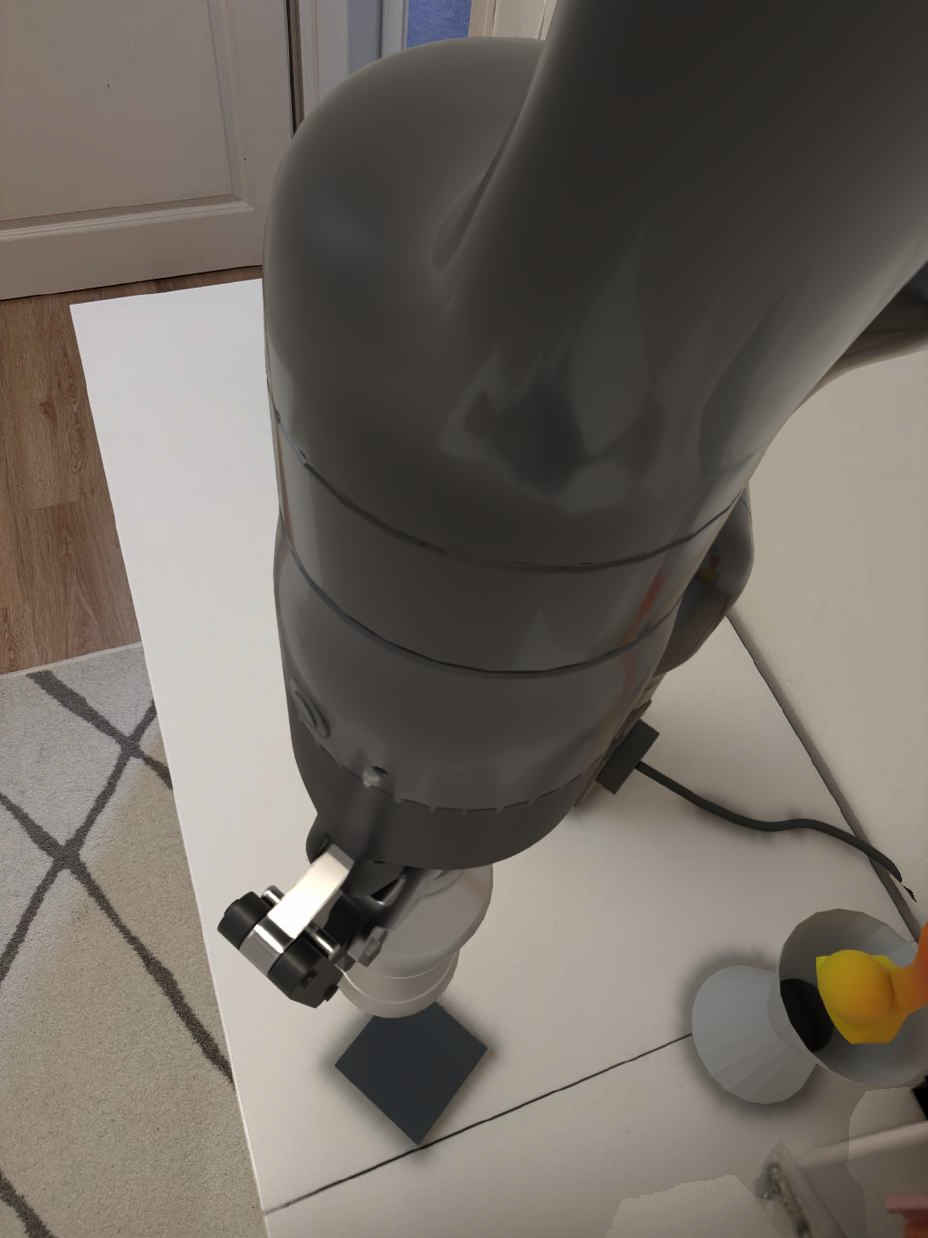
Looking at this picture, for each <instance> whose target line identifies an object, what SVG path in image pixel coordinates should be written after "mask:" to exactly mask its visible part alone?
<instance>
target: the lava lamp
mask: <svg viewBox="0 0 928 1238" xmlns="http://www.w3.org/2000/svg"><path fill="white" fill-rule="evenodd" d="M691 1036H692V1039H693V1042H694V1046H695V1049H696V1052H697V1055H698V1057H699V1059H700V1061H701V1062H702V1064H703V1066H704V1067H705V1069H706V1070H707V1073H709V1075H710V1077H712V1078H713V1080H715V1082H716V1083H718V1084H719V1085H720V1086H721V1087H722V1088H723V1089H724V1090H725V1091H726V1092H727V1093H730V1094H732V1095H734V1096H736V1097H738V1098H739V1099H742V1100H743V1101H745V1102H748V1103H749V1102H750V1103H756V1104H762V1105H770V1104H774V1103H780V1102H784V1101H787V1100H788V1099H789V1098H791V1097H792V1096H793V1095H795V1094H796V1093H798V1092H799V1091H800V1090H801V1089H802V1088H803V1086H804V1085H805V1083H806V1082H807V1080H808V1078H809V1077H810V1075H811V1074H812V1072H813V1070H814V1069H815V1067H816V1065H819V1066H820V1067H821V1068H823V1069H825V1070H827V1071H829V1072H831V1073H833V1074H835V1075H837V1076H838V1077H840V1078H843V1079H845V1080H846V1081H849V1082H850V1083H853V1084H857V1085H864V1086H870V1087H877V1088H887V1087H892V1086H896V1085H901V1084H905V1083H908V1082H910V1081H911V1080H913V1079H914V1078H915V1077H917V1076H918V1075H919V1074H921V1073H922V1072H923V1071H924V1070H925V1069H927V1068H928V920H927V921H926V923H925V924H924V925H923V927H922V930H921V931H920V935H919V939H918V945H917V951H916V949H915V948H914V947H913V945H912V944H911V943H910V941H908V940H907V939H906V938H905V937H903V936H902V935H901V934H900V933H899V932H898V931H897V930H895V929H894V928H893V927H892V926H891V925H889V924H888V923H887V922H885V921H883V920H881V919H878V918H876V917H874V916H872V915H870V914H868V913H865V912H864V911H857V910H851V909H845V908H840V907H838V908H833V909H829V910H828V909H827V910H821V911H817V912H815V913H813V914H812V915H810V916H809V917H807V918H805V919H804V920H802V921H800V922H799V923H798V924H796V926H795V927H794V929H793V930H792V931H791V932H790V934H789V935H788V937H787V938H786V940H785V941H784V943H783V944H782V946H781V949H780V954H779V957H778V960H777V964H776V969H775V971H773V970H769V969H766V968H762V967H757V966H750V965H745V964H738V965H734V966H727V967H723V968H721V969H719V970H718V971H716V972H714V973H713V974H711V975H710V976H708V977H707V978H706V980H705V981H704V982H703V984H702V985H701V986H700V988H699V989H698V991H697V993H696V995H695V999H694V1002H693V1005H692V1008H691Z"/></svg>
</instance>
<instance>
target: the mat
mask: <svg viewBox="0 0 928 1238" xmlns="http://www.w3.org/2000/svg"><path fill="white" fill-rule="evenodd" d="M487 1051H488V1047H487V1046H486V1045H485V1044H483V1043H482V1042H481V1040H480V1039H478V1038H477V1037H476V1036H475V1035H474V1034H472V1033H471V1032H470V1031H469V1030H468V1029H467V1028H466V1027H465V1026H463V1025H462V1024H461V1023H460V1022H459V1021H458V1020H457V1019H456V1018H454V1017H453V1016H452V1015H451V1014H450V1013H449V1011H447V1010H445V1009H444V1007H442V1006H441V1005H440V1004H439V1003H438V1002H436V1001H435V1002H433V1003H432V1004H431V1005H429V1006H428V1007H427V1008H425V1009H424V1010H422V1011H419V1012H417V1013H415V1014H413V1015H409V1016H405V1017H400V1018H384V1017H380V1016H375V1015H372V1017H371V1018H370V1020H369V1021H368V1022H367V1023H366V1025H365V1026H364V1027H363V1029H362V1030H361V1031H360V1032H359V1033H358V1035H357V1036H356V1037H355V1038H354V1040H353V1041H352V1042H351V1043H350V1045H349V1046H348V1048H346V1050H345V1051H344V1052H343V1053H342V1055H340V1057H339V1059H338V1060H337V1061H336V1062H335V1063H334V1067H335V1068H336V1069H337V1070H338V1071H339V1072H340V1073H341V1074H342V1075H343V1076H344V1077H345V1078H346V1079H347V1080H348V1081H349V1082H350V1083H352V1085H353V1086H354V1087H355V1088H357V1089H358V1090H359V1092H361V1093H362V1094H363V1095H364V1096H365V1097H366V1098H367V1100H369V1101H370V1102H371V1103H372V1104H373V1105H375V1107H376V1108H377V1109H379V1110H380V1112H382V1113H383V1114H384V1116H385V1117H387V1118H388V1119H389V1120H390V1121H391V1122H392V1123H393V1124H394V1125H395V1126H396V1127H398V1129H399V1130H401V1132H402V1133H403V1134H405V1135H406V1137H408V1138H409V1139H410V1141H412V1142H413V1143H414V1144H415V1145H416V1146H419V1145H420V1144H421V1143H422V1142H423V1140H424V1139H425V1137H426V1136H427V1134H428V1133H429V1132H430V1131H431V1129H432V1128H433V1126H434V1125H435V1124H436V1122H437V1121H438V1119H439V1118H440V1116H442V1113H443V1112H444V1111H445V1109H446V1108H447V1106H448V1105H449V1104H450V1103H451V1101H452V1099H453V1098H454V1097H455V1095H456V1094H457V1092H459V1090H460V1088H461V1087H462V1085H463V1084H464V1083H465V1081H466V1080H467V1078H469V1076H470V1075H471V1073H472V1072H473V1070H474V1069H475V1067H476V1066H477V1064H479V1062H480V1061H481V1059H482V1058H483V1056H484V1055H485V1053H486V1052H487Z"/></svg>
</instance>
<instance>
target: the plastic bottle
mask: <svg viewBox="0 0 928 1238" xmlns="http://www.w3.org/2000/svg"><path fill="white" fill-rule="evenodd" d="M407 873H408V872H407ZM407 873H405V874H403V875H402V876H400V877H401V878H403V879H404V878H405V877H406V875H407ZM493 889H494V866H493V864H490V865H486V866H482V867H476V868H470V869H460V870H443V871H442V873H441V874H440V875H439V876H438V877H437V878H435V879H434V880H433V882H432V884H431V885H430V887H429V889H428V890H427V892H426V894H425V895H424V897H423V899H422V900H421V902H420V903H419V905H418V906H417V907H416V908H415V909H414V910H413V911H412V912H411V913H410V914H409V915H408V916H407V917H406V918H405V919H404V920H403V922H402V923H401V924H400V925H399V926H398V927H397V928H396V929H395V930H393V931H386V930H384V935H383V942H382V948H381V952H380V953H379V954H378V955H377V956H376V958H375V959H374V960H373V961H372V962H371V964H370V965H369V966H368V967H365V966H363V965H362V964H361V963H359V962H355V964H354V965H353V966H352V967H351V968H350V970H349V971H346V972H344V971H343V970H342V969H341V968H340V967H338V966H337V965H336V964H335V966H336V967H337V968H338V969H339V970H340V971H341V972H343V973H344V975H343V977H342V979H341V980H340V982H339V983H338V984H337V986H338V987H339V989H338V990H340V991H341V993H342V994H343V995H344V997H345V998H346V999H347V1000H348V1001H349V1002H350V1003H351V1004H352V1005H354V1006H356V1007H357V1008H358V1009H359V1010H361V1011H363V1012H365V1013H367V1014H369V1015H372V1016H374V1015H375V1016H380V1017H384V1018H400V1017H405V1016H409V1015H413V1014H415V1013H417V1012H419V1011H422V1010H424V1009H425V1008H427V1007H428V1006H429V1005H431V1004H432V1003H433V1002H436V1001H437V1000H438V999H439V998H440V997H441V996H442V994H443V993H445V991H446V990H447V988H448V987H449V985H450V983H451V982H452V980H453V978H454V975H455V972H456V971H457V967H458V963H459V958H460V953H461V949H462V948H463V947H464V946H465V944H467V942H468V941H469V940H471V938H472V937H473V936H475V934H476V932H477V931H478V929H479V928H480V926H481V925H482V923H483V921H484V919H485V917H486V915H487V912H488V909H489V907H490V905H491V900H492V896H493Z"/></svg>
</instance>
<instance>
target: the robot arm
mask: <svg viewBox="0 0 928 1238" xmlns="http://www.w3.org/2000/svg"><path fill="white" fill-rule="evenodd" d="M271 189H272V190H271V196H270V198H269V199H270V200H269V204H268V209H267V214H266V219H265V223H264V229H263V236H262V252H261V253H262V255H261V257H262V258H261V288H262V289H261V290H262V317H263V319H262V320H263V321H262V322H263V346H264V347H263V348H264V364H265V365H264V366H265V367H264V368H265V375H266V388H267V397H268V399H267V400H268V407H269V419H270V429H271V437H272V439H271V440H272V447H273V449H272V450H273V458H274V467H275V478H276V479H275V480H276V490H277V500H278V516H277V522H276V529H275V539H274V548H273V549H274V551H273V553H274V554H273V566H272V567H273V568H272V578H273V579H272V583H273V596H274V597H273V598H274V607H275V608H274V609H275V616H276V617H275V618H276V624H277V634H278V641H279V650H280V657H281V666H282V667H281V668H282V675H283V683H284V690H285V691H284V692H285V696H286V697H285V699H286V707H287V715H288V722H289V732H290V739H291V747H292V751H293V756H294V760H295V763H296V767H297V769H298V772H299V775H300V777H301V781H302V783H303V785H304V788H305V790H306V792H307V795H308V797H309V798H310V801H311V803H312V805H313V807H314V809H315V811H316V813H317V814H316V816H315V819H314V821H313V823H312V825H311V827H310V829H309V831H308V834H307V837H306V841H305V853H306V857H307V859H308V860H307V861H308V863H309V864H310V866H308V868H307V869H306V870H305V871H304V872H303V873H302V874H301V875H300V877H299V878H298V879H297V880H296V881H295V883H294V884H293V885H292V886H291V887H290V888H289V889H288V890H287V891H286V892H285V893H284V892H283V891H281V890H280V889H279V888H278V887H277V886H276V885H274V884H272V885H269V886H268V887H266V889H264V891H263V892H262V893H261V895H260V896H259V895H258V894H257V893H256V892H254V891H253V890H252V891H251V890H250V891H248V892H247V893H244V894H243V895H242V896H241V897H240V898H236V899H235V900H233V902H231V903H230V904H229V905H228V907H227V908H225V910H224V912H223V916H222V918H221V919H220V921H219V923H218V924H217V927H216V930H217V932H218V933H219V934H220V935H221V936H222V937H223V938H224V939H225V940H226V941H228V942H229V943H230V945H232V946H233V947H234V948H235V949H236V950H237V951H238V952H239V953H240V954H241V955H242V956H243V957H244V958H245V959H247V961H248V962H250V963H251V964H252V965H253V967H255V968H256V969H257V970H258V971H259V972H260V973H261V974H262V975H263V976H265V977H266V978H267V979H268V981H270V982H271V983H272V984H273V985H274V986H275V987H276V988H277V989H278V990H279V991H280V992H282V993H283V995H284V996H286V997H287V998H288V999H289V1000H290V1001H293V1002H296V1003H299V1004H301V1005H304V1006H306V1007H309V1008H312V1009H317V1008H318V1007H319V1006H321V1005H322V1004H323V1003H324V1002H325V1001H326V1002H327V1003H328V1002H329V1001H330V1000H331V999H332V998H333V997H334V996H335V995H336V993H337V992H338V991H339V990H340V989H339V987H338V985H337V984H338V983H339V982H340V980H341V979H342V977H343V975H344V973H343V972H341V971H340V970H339V969H338V968H337V967H336V966H335V964H336V965H337V966H338V967H340V968H341V969H342V970H343V971H344V972H346V971H349V970H350V968H351V967H352V966H353V965H354V964H355V962H359V963H361V964H362V965H363V966H365V967H368V966H369V965H370V964H371V962H372V961H373V960H374V959H375V958H376V956H377V955H378V954H379V953H380V952H381V948H382V942H383V935H384V930H386V931H393V930H395V929H396V928H397V927H398V926H399V925H400V924H401V923H402V922H403V920H404V919H405V918H406V917H407V916H408V915H409V914H410V913H411V912H412V911H413V910H414V909H415V908H416V907H417V906H418V905H419V903H420V902H421V900H422V899H423V897H424V895H425V894H426V892H427V890H428V889H429V887H430V885H431V884H432V882H433V880H434V879H435V878H437V877H438V876H439V875H440V874H441V873H442V871H443V870H460V869H470V868H476V867H482V866H486V865H490V864H492V865H494V864H496V863H499V862H502V861H505V860H507V859H510V858H512V857H514V856H516V855H519V854H521V853H522V852H525V851H526V850H528V849H530V848H531V847H533V846H534V845H535V844H537V843H539V842H540V841H542V840H543V839H544V838H545V837H547V836H548V835H549V834H550V833H552V832H553V830H555V828H556V827H557V826H559V825H560V823H562V821H563V820H564V819H565V817H566V816H567V815H568V814H569V812H570V811H571V809H572V808H573V807H574V808H578V807H579V806H580V805H581V803H582V802H583V801H584V800H585V798H586V797H587V796H588V795H589V794H590V792H591V791H592V789H594V788H595V786H596V785H597V784H599V785H600V786H601V787H603V788H604V789H606V790H607V791H608V792H609V793H611V794H612V795H613V796H615V795H616V794H617V793H618V791H619V790H620V789H621V787H622V786H623V785H624V784H625V782H626V781H627V779H628V778H629V777H630V775H632V773H633V772H634V770H636V771H637V772H639V773H640V774H642V775H644V776H646V778H649V779H651V780H653V781H654V782H656V783H657V784H659V785H660V786H662V787H664V788H665V789H667V790H669V791H671V792H672V793H674V794H675V795H677V796H680V797H681V798H682V799H684V800H686V801H687V802H689V803H690V804H692V805H694V806H696V807H698V808H700V809H702V810H704V811H706V812H708V813H710V814H712V815H714V816H716V817H719V818H721V819H723V820H725V821H728V822H730V823H732V824H735V825H737V826H741V827H743V828H747V829H750V830H754V831H760V832H764V833H765V832H768V833H775V832H785V831H790V830H798V829H806V830H812V831H817V832H820V833H823V834H825V835H828V836H829V837H833V838H835V839H837V840H839V841H841V842H844V843H845V844H847V845H849V846H851V847H853V848H855V849H856V850H857V851H859V852H861V853H862V854H864V855H866V856H867V857H869V858H870V859H872V860H873V861H874V862H875V863H877V864H878V865H880V866H881V867H882V868H884V870H886V871H887V872H888V873H889V874H890V875H891V876H892V877H893V878H894V879H895V880H896V881H898V883H899V884H900V886H902V887H903V888H904V890H905V891H906V892H907V893H908V895H909V896H910V899H911V900H913V901H914V902H915V903H917V901H916V900H915V898H914V895H913V892H912V891H911V890H910V889H908V888H906V887H905V886H903V885H902V884H901V882H902V877H901V874H900V872H899V870H898V869H897V867H896V866H895V864H896V863H895V862H894V861H893V860H892V859H890V858H889V857H888V856H887V855H885V854H884V853H883V852H881V851H880V850H878V849H877V848H875V847H874V846H872V845H871V844H869V843H868V842H866V841H864V840H863V839H861V838H860V837H857V836H856V835H854V834H852V833H850V832H849V831H846V830H843V829H842V828H839V827H836V826H834V825H832V824H829V823H826V822H824V821H821V820H817V819H813V818H805V817H803V818H792V819H786V820H779V821H766V820H759V819H755V818H751V817H748V816H744V815H742V814H739V813H737V812H734V811H732V810H729V809H728V808H725V807H723V806H722V805H719V804H717V803H715V802H712V801H711V800H708V799H706V798H704V797H702V796H700V795H698V794H697V793H696V792H694V791H692V790H691V789H689V788H687V786H685V785H682V784H681V783H679V782H678V781H676V780H674V779H673V778H671V777H669V776H667V775H666V774H664V773H662V772H661V771H659V770H658V769H656V768H654V767H653V766H650V765H649V764H647V763H646V762H644V761H642V759H643V758H644V757H645V755H646V754H648V752H649V750H650V749H651V748H652V746H653V745H654V744H655V742H656V740H657V739H658V738H659V736H660V735H661V733H660V732H659V731H658V730H656V729H655V728H654V727H652V726H651V725H650V724H648V722H647V723H646V722H645V721H644V720H643V717H644V716H645V714H646V713H647V711H648V709H650V706H651V705H652V703H653V699H652V697H653V696H654V694H655V693H656V691H657V689H659V686H660V685H661V683H662V682H663V680H664V678H665V677H666V676H667V674H668V673H669V672H671V671H674V670H676V669H677V668H679V667H680V666H682V665H684V664H685V663H686V662H688V661H689V660H691V659H692V658H693V657H694V656H695V655H696V654H697V653H698V651H699V650H700V649H701V648H702V646H703V645H704V644H705V643H706V641H707V640H708V639H709V638H710V636H711V635H712V634H713V633H714V632H715V630H716V629H717V628H718V626H719V625H720V624H721V623H722V621H723V620H724V619H725V618H726V617H727V615H728V614H729V613H730V611H731V610H732V608H733V607H734V605H735V604H736V603H737V602H738V600H739V599H740V597H741V595H742V593H743V592H744V590H745V588H746V587H747V584H748V583H749V580H750V577H751V574H752V571H753V568H754V563H755V541H754V531H753V530H754V529H753V528H754V527H753V515H752V506H751V505H752V504H751V502H752V501H751V492H750V491H751V490H750V481H751V479H752V477H753V476H754V474H755V472H756V470H757V469H758V467H759V465H760V463H761V461H762V460H763V458H764V456H765V455H766V452H767V451H768V449H769V448H770V446H771V444H772V442H774V440H775V438H776V437H777V436H778V434H779V433H780V431H782V429H783V428H784V425H786V423H787V422H788V420H789V419H790V418H791V417H792V416H793V415H794V414H795V413H796V412H797V411H798V410H799V409H800V408H801V407H802V406H804V404H805V403H806V402H807V401H808V400H810V399H811V398H812V397H813V396H814V395H816V394H817V393H818V392H819V391H821V390H822V389H823V388H824V387H825V386H827V385H828V384H830V383H832V382H833V381H835V380H836V379H838V378H839V377H841V376H843V375H846V374H848V373H849V372H851V371H854V370H858V369H860V368H863V367H866V366H869V365H873V364H878V363H881V362H884V361H885V362H886V361H889V360H893V359H896V358H897V359H898V358H900V357H904V356H905V357H906V356H908V355H912V354H916V353H919V352H923V351H926V350H928V0H556V2H555V6H554V9H553V12H552V16H551V19H550V23H549V25H548V29H547V33H546V36H545V39H539V38H534V37H513V36H466V37H457V38H455V37H454V38H445V39H440V40H436V41H431V42H425V43H421V44H418V45H414V46H411V47H408V48H405V49H404V48H403V49H401V50H399V51H395V52H393V53H392V52H391V53H390V54H388V55H385V56H383V57H380V58H378V59H376V60H374V61H370V62H369V63H368V64H366V65H364V66H362V67H360V68H359V69H358V70H355V71H354V72H352V73H351V74H349V75H348V76H346V77H345V78H344V79H342V80H341V81H340V82H338V83H337V84H336V85H335V86H334V87H333V88H332V89H330V91H328V92H327V93H326V94H325V96H323V98H322V99H321V100H320V101H319V102H318V104H316V105H315V107H314V108H313V109H312V110H311V111H310V112H309V113H308V115H306V117H304V119H303V120H302V121H301V123H299V124H298V127H297V129H296V131H295V133H294V135H293V137H292V139H291V140H290V143H289V145H288V147H287V149H286V150H285V153H284V154H283V156H282V159H281V161H280V163H279V165H278V167H277V169H276V172H275V175H274V180H273V185H272V188H271ZM892 861H893V862H894V863H895V864H894V863H893V862H892ZM407 872H408V873H407ZM405 873H407V875H406V877H405V878H404V879H403V878H401V877H400V876H402V875H403V874H405Z"/></svg>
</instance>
